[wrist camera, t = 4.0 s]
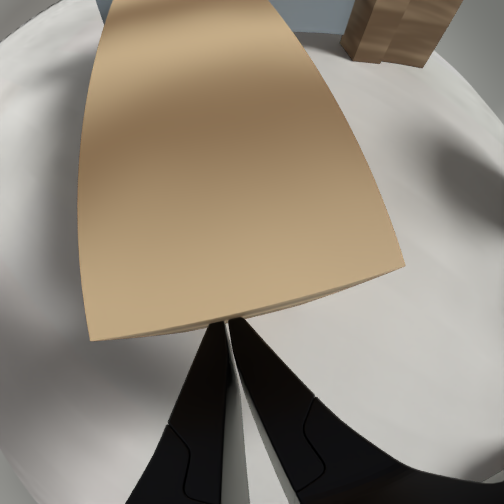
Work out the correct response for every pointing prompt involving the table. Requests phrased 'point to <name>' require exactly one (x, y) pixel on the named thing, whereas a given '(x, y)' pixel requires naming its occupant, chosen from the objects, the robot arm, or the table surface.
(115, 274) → the block
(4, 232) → the table surface
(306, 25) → the door
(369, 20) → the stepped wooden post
